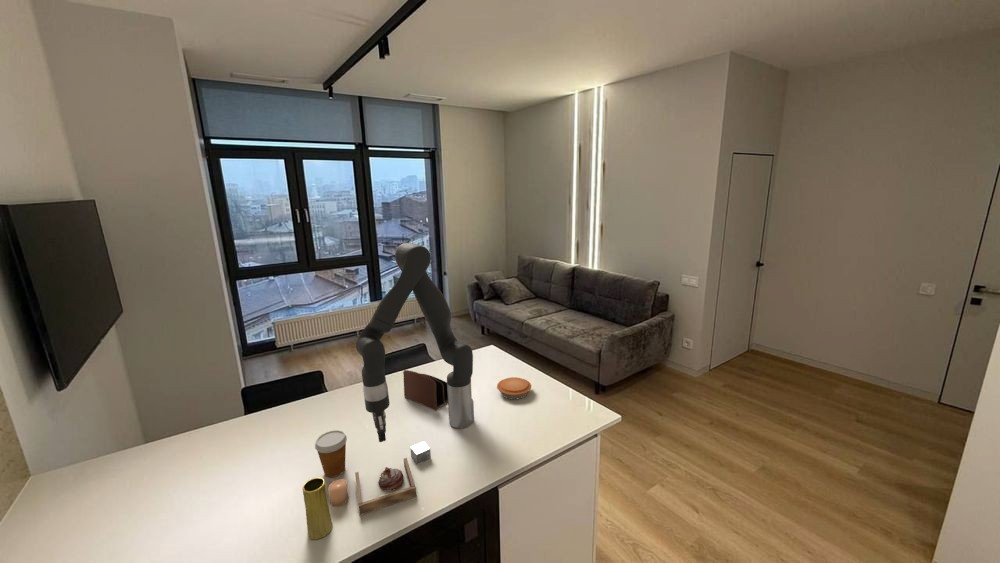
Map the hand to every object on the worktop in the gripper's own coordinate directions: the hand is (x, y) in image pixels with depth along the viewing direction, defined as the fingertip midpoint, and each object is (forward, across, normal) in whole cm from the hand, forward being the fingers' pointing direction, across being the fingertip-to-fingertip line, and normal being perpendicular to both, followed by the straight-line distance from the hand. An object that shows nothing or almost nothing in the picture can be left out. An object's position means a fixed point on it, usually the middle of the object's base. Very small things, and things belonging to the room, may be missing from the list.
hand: (382, 440), depth 127 cm
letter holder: (+8, +32, -23) cm, 40 cm away
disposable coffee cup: (+7, +1, +16) cm, 17 cm away
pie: (+9, +20, -59) cm, 63 cm away
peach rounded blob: (+7, -13, +15) cm, 21 cm away
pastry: (+7, -12, 0) cm, 14 cm away
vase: (+7, -22, +20) cm, 30 cm away
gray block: (+8, -5, -11) cm, 15 cm away
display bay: (+7, -14, +2) cm, 16 cm away
